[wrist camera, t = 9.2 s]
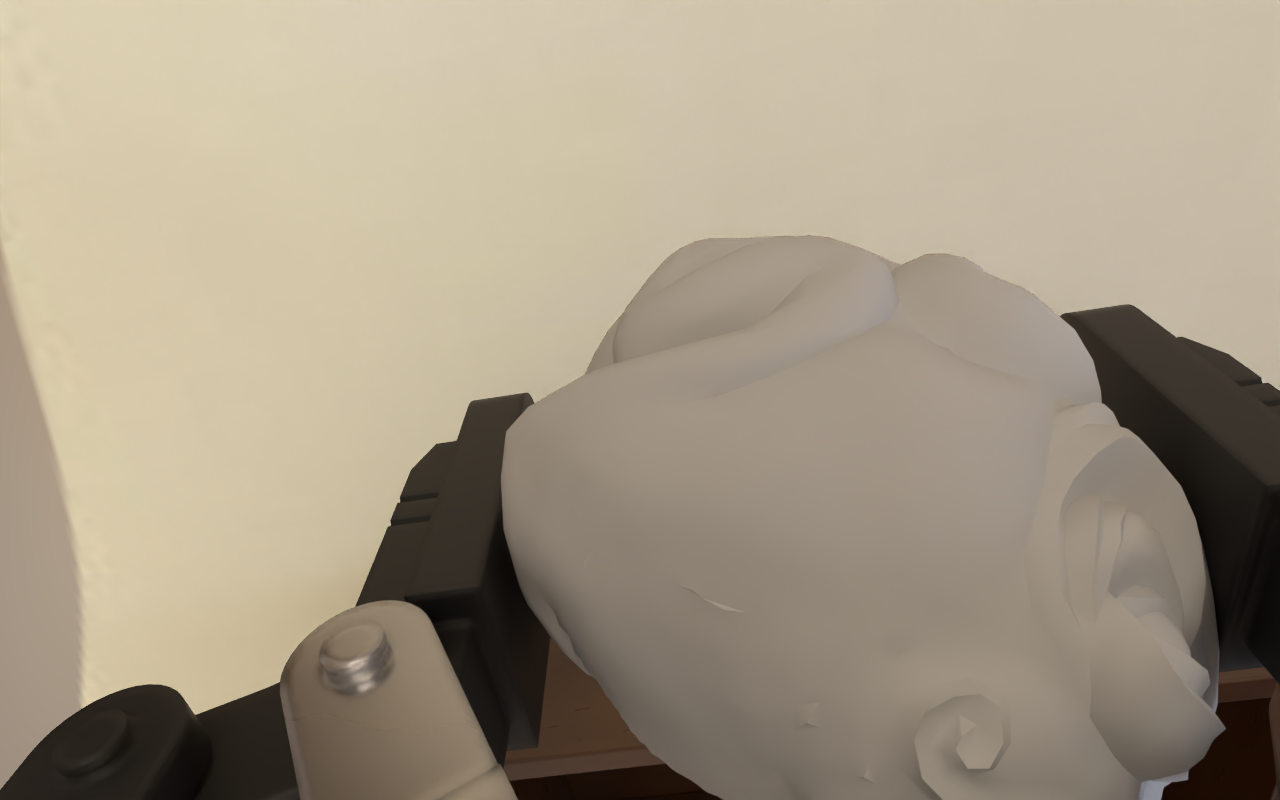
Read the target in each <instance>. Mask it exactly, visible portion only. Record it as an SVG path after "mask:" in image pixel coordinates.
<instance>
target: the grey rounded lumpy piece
mask: <svg viewBox="0 0 1280 800" xmlns="http://www.w3.org/2000/svg"><path fill="white" fill-rule="evenodd" d="M501 492H502V510H503V528H504V533H505V537H506V541H507V544H508V548H509V551H510V555H511V559H512V562H513V566H514V570H515V573H516V577H517V580H518V584H519V586H520V589H521V591H522V593H523V596H524V598H525V600H526V603H527V605H528V606H529V607H530V609H531V610H532V612H533V613H534V614H535V616H536V617H537V619H538V620H539V621H540V623H541V624H542V626H543V627H544V628H545V630H546V631H547V633H548V634H549V635H550V637H551V638H552V639H553V640H554V642H555V643H556V644H557V645H558V647H559V648H560V649H561V650H562V652H563V653H564V654H565V655H567V656H568V657H569V658H570V659H571V660H572V661H573V662H574V663H575V664H576V665H577V666H578V667H580V668H581V669H582V670H583V671H584V672H585V673H586V674H588V675H590V676H592V677H594V678H595V679H596V680H597V682H598V683H599V685H600V686H601V688H602V690H603V691H604V693H605V695H606V696H607V697H608V698H609V699H610V701H611V702H612V704H613V705H614V707H615V708H616V709H617V710H618V711H619V713H620V716H621V718H622V719H623V720H624V721H625V722H626V724H627V725H628V727H629V729H630V731H631V732H632V733H633V734H634V735H636V737H637V738H638V740H639V741H640V742H641V743H643V744H645V745H646V747H647V748H648V749H649V751H650V752H651V753H652V754H653V755H655V756H657V757H659V758H660V759H661V760H662V761H663V762H665V763H666V764H667V765H668V766H669V767H670V768H671V769H672V770H674V771H675V772H677V773H679V774H681V775H683V776H684V777H686V778H688V779H690V780H691V781H693V782H694V783H696V784H697V785H698V786H700V787H701V788H702V789H703V790H705V791H706V792H708V793H710V794H713V795H715V796H718V797H720V798H721V799H723V800H1161V797H1162V793H1163V789H1164V787H1165V786H1167V785H1168V784H1170V783H1171V782H1178V781H1184V780H1188V773H1189V769H1190V768H1192V767H1193V766H1194V765H1195V764H1197V763H1198V762H1199V761H1200V760H1202V759H1203V758H1204V757H1205V755H1206V753H1207V751H1208V749H1209V747H1210V746H1211V744H1212V742H1213V740H1214V739H1215V738H1216V737H1217V736H1218V735H1220V734H1221V733H1222V732H1223V731H1224V730H1225V729H1226V728H1225V726H1224V725H1223V723H1222V722H1221V721H1220V719H1219V718H1218V716H1217V715H1216V714H1215V712H1216V708H1217V704H1218V681H1219V655H1220V649H1219V640H1218V632H1217V623H1216V614H1215V605H1214V597H1213V591H1212V586H1211V580H1210V575H1209V570H1208V566H1207V561H1206V557H1205V552H1204V547H1203V544H1202V541H1201V538H1200V535H1199V531H1198V527H1197V522H1196V518H1195V516H1194V514H1193V512H1192V509H1191V507H1190V505H1189V503H1188V500H1187V498H1186V496H1185V494H1184V491H1183V489H1182V487H1181V485H1180V484H1179V483H1178V482H1177V480H1176V479H1175V478H1174V477H1173V476H1172V474H1171V473H1170V472H1169V471H1168V470H1167V468H1166V467H1165V466H1164V465H1163V464H1162V462H1161V461H1160V460H1159V459H1158V458H1157V456H1156V455H1155V454H1154V453H1153V452H1152V451H1151V450H1150V449H1149V448H1148V446H1147V445H1146V444H1145V443H1144V442H1143V441H1142V440H1141V439H1140V438H1139V437H1138V436H1137V435H1135V434H1134V433H1133V432H1131V431H1130V430H1129V429H1126V428H1123V427H1120V425H1119V423H1118V421H1117V419H1116V417H1115V415H1114V413H1113V411H1111V410H1110V409H1109V408H1108V407H1107V406H1106V405H1105V404H1102V400H1101V389H1100V385H1099V381H1098V377H1097V374H1096V370H1095V366H1094V362H1093V359H1092V358H1091V356H1090V354H1089V353H1088V351H1087V349H1086V348H1085V346H1084V344H1083V343H1082V341H1081V339H1080V337H1079V336H1078V334H1077V332H1076V331H1075V329H1074V328H1072V327H1071V326H1070V325H1069V324H1068V323H1067V322H1065V321H1064V320H1063V319H1062V318H1061V317H1060V316H1058V315H1057V314H1056V313H1055V312H1054V311H1053V310H1051V309H1050V308H1049V307H1048V306H1047V305H1046V304H1044V303H1043V302H1042V301H1041V300H1040V299H1039V298H1037V297H1036V296H1035V295H1034V294H1032V293H1030V292H1029V291H1027V290H1025V289H1023V288H1022V287H1020V286H1017V285H1015V284H1012V283H1009V282H1007V281H1004V280H1001V279H999V278H997V277H994V276H992V275H990V274H988V273H986V272H984V271H983V269H982V268H981V267H980V266H978V265H976V264H975V263H973V262H971V261H970V260H968V259H966V258H964V257H959V256H955V255H950V254H925V255H923V256H921V257H918V258H916V259H914V260H912V261H909V262H907V263H905V264H903V265H899V264H896V263H893V262H891V261H889V260H887V259H885V258H883V257H880V256H878V255H876V254H874V253H871V252H869V251H866V250H864V249H862V248H859V247H856V246H853V245H850V244H847V243H844V242H841V241H838V240H835V239H832V238H828V237H819V236H810V235H808V236H798V237H795V236H774V237H756V238H709V239H705V240H700V241H695V242H693V243H691V244H689V245H687V246H684V247H682V248H680V249H679V250H677V251H676V252H674V253H673V254H671V255H670V256H669V257H668V258H667V259H666V260H665V261H664V262H663V263H662V264H661V265H660V266H659V267H658V268H657V269H656V271H655V272H654V273H653V274H652V275H651V276H650V277H649V278H648V280H647V281H646V282H645V284H644V285H643V286H642V288H641V289H640V290H639V292H638V293H637V294H636V296H635V297H634V298H633V300H632V301H631V302H630V304H629V305H628V306H627V307H626V309H625V311H624V313H623V314H622V315H621V316H620V317H619V319H618V320H617V321H616V322H615V323H614V325H613V326H612V327H611V328H610V329H609V331H608V332H607V334H606V335H605V337H604V339H603V340H602V342H601V344H600V346H599V347H598V349H597V351H596V352H595V354H594V356H593V358H592V361H591V363H590V365H589V367H588V369H587V371H586V373H585V375H584V376H582V377H580V378H578V379H577V380H575V381H573V382H571V383H570V384H568V385H566V386H564V387H562V388H561V389H559V390H557V391H555V392H554V393H552V394H550V395H548V396H547V397H545V398H543V399H541V400H540V401H538V402H536V403H534V404H532V405H531V406H529V407H528V408H527V409H526V410H525V411H524V412H523V413H522V414H521V416H520V417H519V418H518V419H517V420H516V421H515V422H514V423H513V424H512V425H511V427H510V428H509V429H508V430H507V431H506V437H505V445H504V454H503V463H502V473H501Z"/></svg>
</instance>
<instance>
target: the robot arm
mask: <svg viewBox="0 0 1280 800" xmlns="http://www.w3.org/2000/svg"><path fill="white" fill-rule="evenodd" d="M1060 317H1061V318H1062V319H1063V320H1064V321H1065V322H1067V323H1068V324H1069V325H1070V326H1071V327H1072V328H1074V329H1075V331H1076V332H1077V334H1078V336H1079V337H1080V339H1081V341H1082V343H1083V344H1084V346H1085V348H1086V349H1087V351H1088V353H1089V354H1090V356H1091V358H1092V359H1093V362H1094V366H1095V370H1096V374H1097V377H1098V381H1099V385H1100V389H1101V400H1102V404H1105V405H1106V406H1107V407H1108V408H1109V409H1110V410H1111V411H1113V413H1114V415H1115V417H1116V419H1117V421H1118V423H1119V425H1120V427H1123V428H1126V429H1129V430H1130V431H1131V432H1133V433H1134V434H1135V435H1137V436H1138V437H1139V438H1140V439H1141V440H1142V441H1143V442H1144V443H1145V444H1146V445H1147V446H1148V448H1149V449H1150V450H1151V451H1152V452H1153V453H1154V454H1155V455H1156V456H1157V458H1158V459H1159V460H1160V461H1161V462H1162V464H1163V465H1164V466H1165V467H1166V468H1167V470H1168V471H1169V472H1170V473H1171V474H1172V476H1173V477H1174V478H1175V479H1176V480H1177V482H1178V483H1179V484H1180V485H1181V487H1182V489H1183V491H1184V494H1185V496H1186V498H1187V500H1188V503H1189V505H1190V507H1191V509H1192V512H1193V514H1194V516H1195V518H1196V522H1197V527H1198V531H1199V535H1200V538H1201V541H1202V544H1203V547H1204V552H1205V557H1206V561H1207V566H1208V570H1209V575H1210V580H1211V586H1212V591H1213V597H1214V605H1215V614H1216V623H1217V632H1218V640H1219V649H1220V655H1219V672H1227V671H1236V670H1244V669H1253V668H1262V667H1265V668H1266V669H1267V671H1268V672H1269V673H1270V674H1271V675H1272V676H1273V678H1274V679H1275V680H1276V681H1277V684H1276V687H1275V690H1274V692H1273V695H1272V698H1271V701H1270V704H1269V719H1270V728H1271V736H1272V745H1273V754H1274V762H1275V771H1276V780H1277V788H1278V797H1279V800H1280V391H1279V390H1278V389H1276V388H1275V387H1273V386H1272V385H1271V384H1269V383H1262V381H1261V377H1259V376H1258V375H1257V374H1255V373H1254V372H1252V371H1251V370H1250V369H1248V368H1247V367H1245V366H1244V365H1243V364H1241V363H1240V362H1239V361H1237V360H1236V359H1234V358H1233V357H1232V356H1230V355H1229V354H1226V353H1224V352H1221V351H1218V350H1216V349H1213V348H1211V347H1208V346H1205V345H1203V344H1200V343H1197V342H1195V341H1192V340H1189V339H1187V338H1184V337H1177V338H1176V337H1175V336H1174V335H1172V334H1171V333H1170V332H1168V331H1167V330H1166V329H1164V328H1163V327H1162V326H1160V325H1159V324H1158V323H1156V322H1155V321H1154V320H1152V319H1151V318H1150V317H1148V316H1147V315H1146V314H1144V313H1143V312H1142V311H1140V310H1139V309H1138V308H1136V307H1135V306H1133V305H1129V304H1128V305H1119V306H1112V307H1105V308H1099V309H1092V310H1085V311H1079V312H1072V313H1065V314H1062V315H1061V316H1060ZM532 404H534V401H533V399H532V397H531V396H530V394H529V393H521V394H515V395H508V396H501V397H494V398H488V399H481V400H474V401H471V403H470V404H469V406H468V409H467V412H466V415H465V418H464V421H463V424H462V427H461V430H460V433H459V436H458V439H457V441H453V442H446V443H440V444H436V445H435V446H434V447H433V448H432V449H431V450H430V451H429V452H428V453H427V454H426V455H425V456H424V457H423V458H422V459H421V460H420V461H419V462H418V463H417V464H416V465H415V466H414V467H413V468H412V470H411V471H410V474H409V476H408V479H407V481H406V484H405V486H404V489H403V491H402V494H401V496H400V501H401V502H400V503H397V506H396V508H395V511H394V513H393V516H392V518H391V520H390V521H391V526H389V527H388V528H387V530H386V533H385V535H384V538H383V540H382V543H381V545H380V547H379V550H378V552H377V555H376V557H375V560H374V562H373V565H372V567H371V570H370V572H369V574H368V577H367V579H366V582H365V584H364V587H363V589H362V592H361V594H360V597H359V599H358V601H357V604H356V606H355V607H354V608H351V609H349V610H346V611H344V612H342V613H340V614H338V615H336V616H334V617H333V618H331V619H329V620H328V621H326V622H325V623H323V624H322V625H320V626H319V627H318V628H316V629H315V630H314V631H313V632H312V633H310V634H309V635H308V636H307V637H306V638H305V639H304V640H303V641H302V642H301V643H300V644H299V645H298V647H297V648H296V649H295V651H294V652H293V653H292V654H291V656H290V658H289V660H288V661H287V663H286V665H285V667H284V670H283V672H282V675H281V680H280V683H277V684H275V685H273V686H270V687H268V688H266V689H263V690H260V691H258V692H255V693H252V694H250V695H247V696H245V697H242V698H239V699H237V700H234V701H231V702H229V703H226V704H224V705H221V706H218V707H216V708H213V709H210V710H208V711H205V712H202V713H200V714H197V715H195V714H194V713H193V712H192V710H191V709H190V707H189V706H188V704H187V703H186V701H185V700H184V698H183V697H182V696H181V695H180V694H179V693H178V692H177V691H176V690H174V689H172V688H170V687H168V686H163V685H152V684H148V685H141V686H135V687H131V688H127V689H123V690H120V691H118V692H115V693H112V694H109V695H107V696H105V697H103V698H101V699H99V700H97V701H95V702H93V703H91V704H89V705H88V706H86V707H84V708H83V709H81V710H79V711H78V712H76V713H75V714H74V715H72V716H71V717H69V718H68V719H66V720H65V721H64V722H62V723H61V724H60V725H59V726H57V727H56V728H55V729H54V730H52V731H51V732H50V733H49V734H48V735H47V736H46V737H45V738H44V739H43V740H42V741H41V742H40V743H39V744H38V745H37V746H36V747H35V748H34V750H33V751H32V752H31V753H30V754H29V755H28V756H27V758H26V759H25V760H24V762H23V763H22V764H21V765H20V766H19V768H18V769H17V770H16V771H15V773H14V774H13V775H12V776H11V777H10V779H9V780H8V781H7V782H6V784H5V785H4V786H3V787H2V789H1V790H0V800H518V799H517V797H516V795H515V793H514V790H513V788H512V786H511V784H510V782H509V780H508V778H507V776H506V774H505V772H504V763H505V756H506V751H512V750H521V749H530V748H538V742H539V733H540V725H541V716H542V707H543V698H544V690H545V681H546V672H547V664H548V655H549V646H550V638H551V637H550V635H549V634H548V633H547V631H546V630H545V628H544V627H543V626H542V624H541V623H540V621H539V620H538V619H537V617H536V616H535V614H534V613H533V612H532V610H531V609H530V607H529V606H528V605H527V603H526V600H525V598H524V596H523V593H522V591H521V589H520V586H519V584H518V580H517V577H516V573H515V570H514V566H513V562H512V559H511V555H510V551H509V548H508V544H507V541H506V537H505V533H504V528H503V510H502V492H501V473H502V463H503V454H504V445H505V437H506V431H507V430H508V429H509V428H510V427H511V425H512V424H513V423H514V422H515V421H516V420H517V419H518V418H519V417H520V416H521V414H522V413H523V412H524V411H525V410H526V409H527V408H528V407H529V406H531V405H532Z"/></svg>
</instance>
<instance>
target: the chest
mask: <svg viewBox="0 0 1280 800" xmlns="http://www.w3.org/2000/svg"><path fill="white" fill-rule="evenodd" d="M1276 684H1277V681H1276V680H1275V679H1274V678H1273V676H1272V675H1271V674H1270V673H1269V672H1268V671H1267V669H1266V668H1265V667H1262V668H1253V669H1244V670H1236V671H1227V672H1219V681H1218V704H1217V708H1216V712H1215V714H1216V715H1217V716H1218V718H1219V719H1220V721H1221V722H1222V723H1223V725H1224V726H1225V728H1226V729H1225V730H1224V731H1223V732H1222V733H1221V734H1220V735H1218V736H1217V737H1216V738H1215V739H1214V740H1213V742H1212V744H1211V746H1210V747H1209V749H1208V751H1207V753H1206V755H1205V757H1204V758H1203V759H1202V760H1200V761H1199V762H1198V763H1197V764H1195V765H1194V766H1193V767H1192V768H1190V769H1189V773H1188V780H1184V781H1178V782H1171V783H1170V784H1168V785H1167V786H1165V787H1164V789H1163V793H1162V797H1161V800H1279V797H1278V788H1277V780H1276V771H1275V762H1274V754H1273V745H1272V736H1271V728H1270V719H1269V704H1270V701H1271V698H1272V695H1273V692H1274V690H1275V687H1276ZM504 772H505V774H506V776H507V778H508V780H509V782H510V784H511V786H512V788H513V790H514V793H515V795H516V797H517V799H518V800H723V799H721V798H720V797H718V796H715V795H713V794H710V793H708V792H706V791H705V790H703V789H702V788H701V787H700V786H698V785H697V784H696V783H694V782H693V781H691V780H690V779H688V778H686V777H684V776H683V775H681V774H679V773H677V772H675V771H674V770H672V769H671V768H670V767H669V766H668V765H667V764H666V763H665V762H663V761H662V760H661V759H660V758H659V757H657V756H655V755H653V754H652V753H651V752H650V751H649V749H648V748H647V747H646V745H645V744H643V743H641V742H640V741H639V740H638V738H637V737H636V735H634V734H633V733H632V732H631V731H630V729H629V727H628V725H627V724H626V722H625V721H624V720H623V719H622V718H621V716H620V713H619V711H618V710H617V709H616V708H615V707H614V705H613V704H612V702H611V701H610V699H609V698H608V697H607V696H606V695H605V693H604V691H603V690H602V688H601V686H600V685H599V683H598V682H597V680H596V679H595V678H594V677H592V676H590V675H588V674H586V673H585V672H584V671H583V670H582V669H581V668H580V667H578V666H577V665H576V664H575V663H574V662H573V661H572V660H571V659H570V658H569V657H568V656H567V655H565V654H564V653H563V652H562V650H561V649H560V648H559V647H558V645H557V644H556V643H555V642H554V640H553V639H552V638H550V646H549V655H548V664H547V672H546V681H545V690H544V698H543V707H542V716H541V725H540V733H539V742H538V748H530V749H521V750H512V751H506V756H505V763H504Z"/></svg>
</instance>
